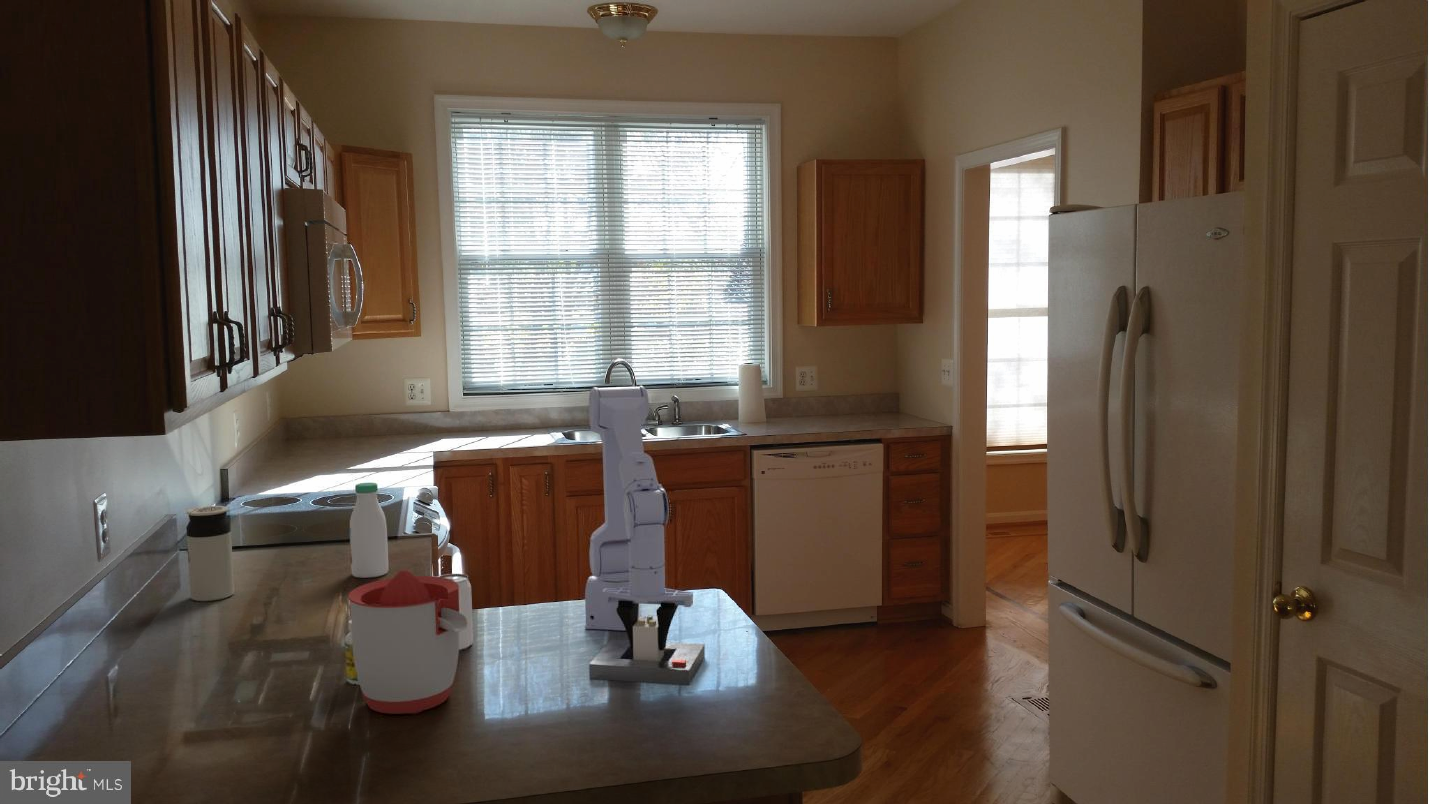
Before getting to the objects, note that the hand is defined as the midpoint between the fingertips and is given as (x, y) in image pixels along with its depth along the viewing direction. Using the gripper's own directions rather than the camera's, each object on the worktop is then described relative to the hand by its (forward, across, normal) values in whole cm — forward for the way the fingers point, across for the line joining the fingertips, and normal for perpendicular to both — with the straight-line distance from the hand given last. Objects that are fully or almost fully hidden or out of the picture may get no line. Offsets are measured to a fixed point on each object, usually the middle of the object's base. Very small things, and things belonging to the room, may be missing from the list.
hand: (648, 647), depth 164 cm
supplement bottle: (+4, -43, -12) cm, 45 cm away
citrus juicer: (+4, -31, -19) cm, 37 cm away
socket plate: (+3, 0, 0) cm, 3 cm away
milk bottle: (+4, -75, +46) cm, 88 cm away
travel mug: (+4, -98, +25) cm, 101 cm away
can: (+4, -36, +5) cm, 37 cm away
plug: (+2, 0, 0) cm, 2 cm away
